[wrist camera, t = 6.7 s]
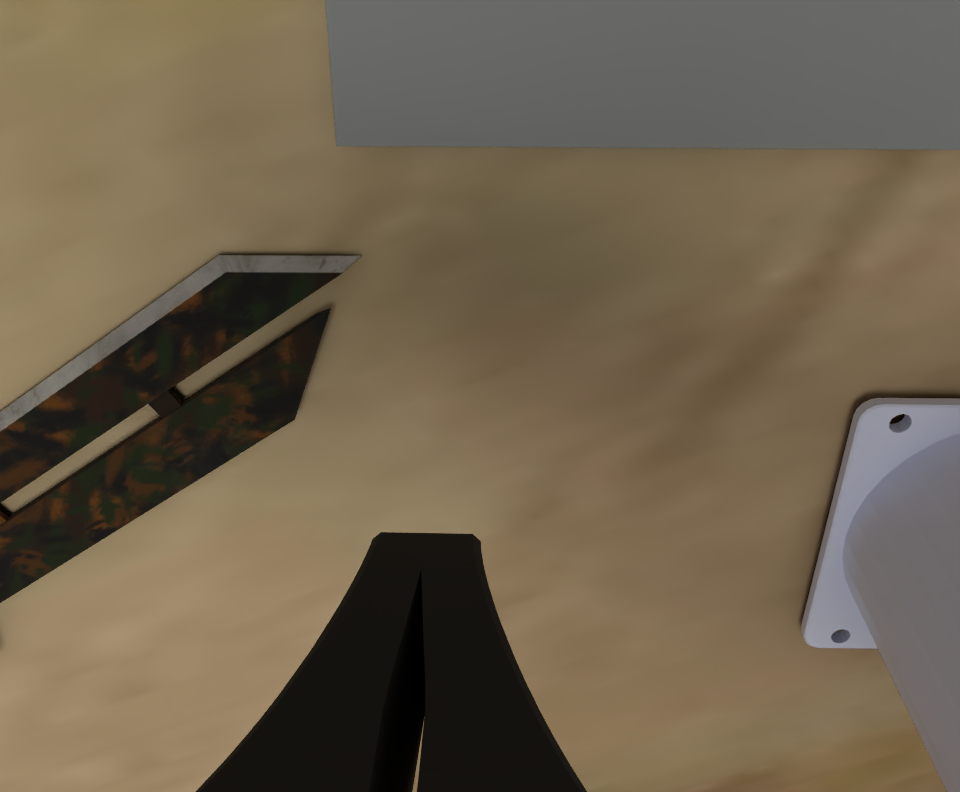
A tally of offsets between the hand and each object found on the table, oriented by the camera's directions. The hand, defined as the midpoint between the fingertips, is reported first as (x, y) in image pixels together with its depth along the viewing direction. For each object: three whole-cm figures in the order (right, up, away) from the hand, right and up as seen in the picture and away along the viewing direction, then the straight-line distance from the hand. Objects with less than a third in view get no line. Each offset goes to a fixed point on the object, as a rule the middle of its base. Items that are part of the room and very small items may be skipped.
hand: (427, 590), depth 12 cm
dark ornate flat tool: (-13, 0, +13) cm, 18 cm away
